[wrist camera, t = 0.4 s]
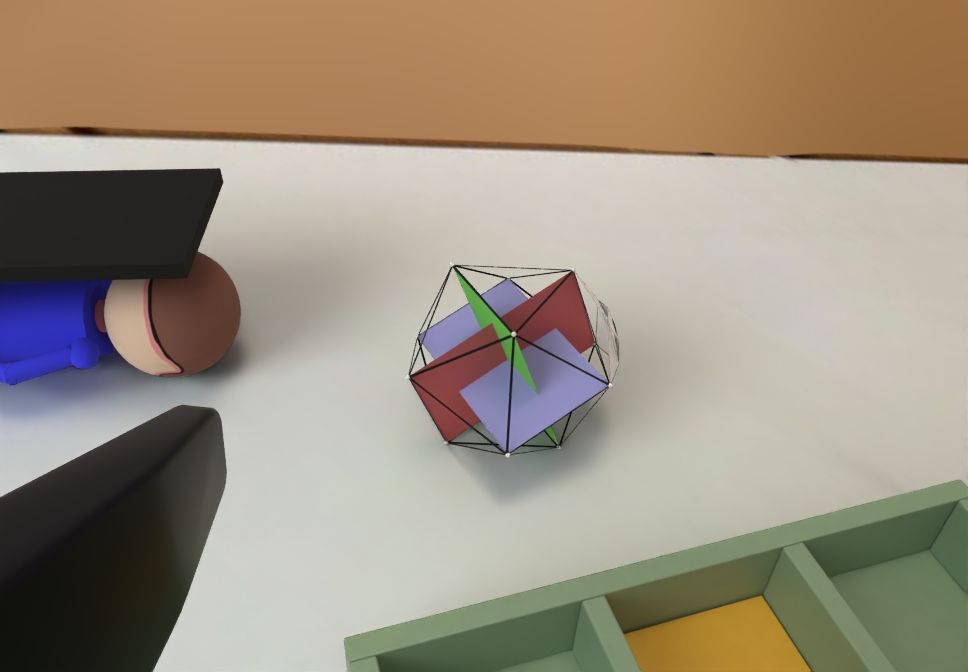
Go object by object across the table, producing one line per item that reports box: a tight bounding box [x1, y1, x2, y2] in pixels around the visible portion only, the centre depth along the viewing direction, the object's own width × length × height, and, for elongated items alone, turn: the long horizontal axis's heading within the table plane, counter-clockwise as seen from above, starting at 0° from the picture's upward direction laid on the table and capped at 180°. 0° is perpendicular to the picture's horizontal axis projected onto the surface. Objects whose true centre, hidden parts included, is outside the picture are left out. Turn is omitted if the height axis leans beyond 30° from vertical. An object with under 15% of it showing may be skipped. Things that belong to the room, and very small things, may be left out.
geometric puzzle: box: [406, 263, 619, 457], centre depth 30 cm, size 7×7×8 cm
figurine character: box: [0, 168, 241, 385], centre depth 32 cm, size 7×8×15 cm
